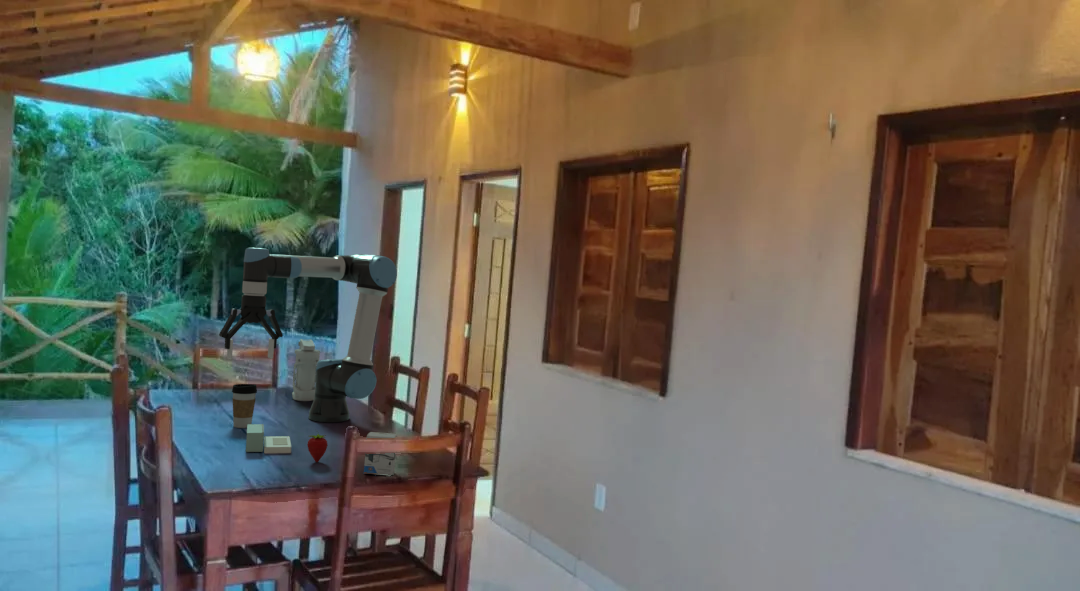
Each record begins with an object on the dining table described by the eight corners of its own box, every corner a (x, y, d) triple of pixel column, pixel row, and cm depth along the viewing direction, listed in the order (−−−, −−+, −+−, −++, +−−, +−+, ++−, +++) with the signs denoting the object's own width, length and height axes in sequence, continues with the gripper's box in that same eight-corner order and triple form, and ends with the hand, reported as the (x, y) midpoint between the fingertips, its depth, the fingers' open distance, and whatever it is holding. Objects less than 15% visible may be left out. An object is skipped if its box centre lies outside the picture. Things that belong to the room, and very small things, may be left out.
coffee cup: (246, 430, 267) (248, 387, 266) (224, 427, 268) (227, 384, 268) (259, 425, 275) (262, 384, 274) (238, 422, 277) (241, 381, 276)
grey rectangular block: (262, 442, 251) (263, 423, 250) (262, 451, 239) (264, 432, 239) (246, 442, 249) (247, 423, 249) (245, 451, 238) (246, 432, 237)
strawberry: (308, 465, 229) (310, 432, 228) (304, 459, 236) (306, 427, 235) (328, 464, 231) (330, 432, 231) (324, 458, 238) (326, 426, 238)
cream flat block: (289, 442, 254) (289, 436, 254) (290, 453, 241) (291, 446, 241) (263, 442, 252) (264, 436, 252) (264, 453, 239) (264, 446, 238)
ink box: (362, 475, 224) (365, 435, 223) (366, 470, 229) (368, 431, 228) (392, 477, 224) (395, 437, 224) (395, 472, 229) (397, 433, 229)
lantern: (318, 401, 327) (322, 343, 326) (293, 401, 323) (297, 342, 322) (313, 395, 339) (317, 339, 338) (289, 395, 334) (293, 338, 333)
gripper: (286, 294, 262) (282, 356, 263) (211, 292, 246) (207, 357, 246) (295, 296, 257) (291, 359, 258) (219, 294, 240) (215, 361, 241)
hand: (250, 358), depth 252 cm, fingers open, 13 cm apart
